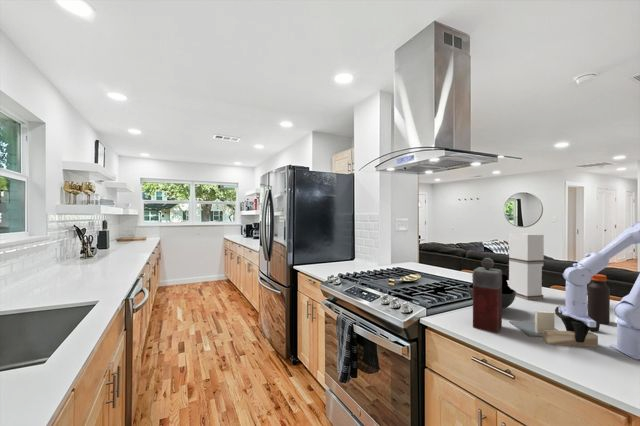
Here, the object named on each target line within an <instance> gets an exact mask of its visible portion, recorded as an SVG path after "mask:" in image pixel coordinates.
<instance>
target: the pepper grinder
mask: <svg viewBox="0 0 640 426" xmlns="http://www.w3.org/2000/svg"><path fill="white" fill-rule="evenodd" d="M480 264H481V266H478V267H477V268H474V269H475V270H474V269H473V271H472V275H473V277H472V279H473V280H472V283H473V299H472V328H474V329H478V330H482V331H487V332H489V333H490V332H491V333H494V334H499V333H500V332H501V329H502V328H503V317H502V316H503V315H502V314H503V313H502V311H503V309H502V274H503V271H502V270H501V269H498V268H493V267H494V266H495V262H494V260H493V259H492V258H490V257H485V258H483V259H482V260H481V262H480Z"/></svg>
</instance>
